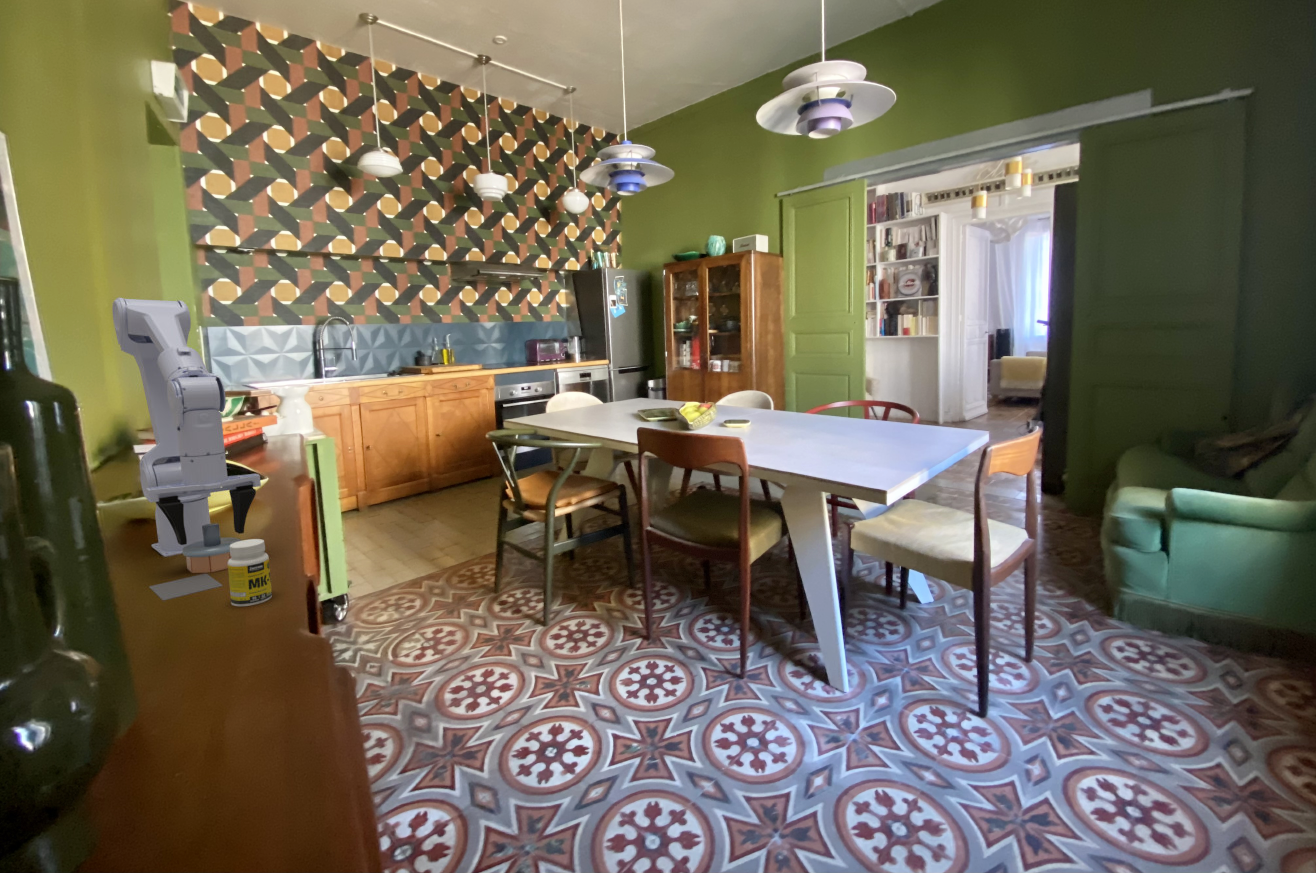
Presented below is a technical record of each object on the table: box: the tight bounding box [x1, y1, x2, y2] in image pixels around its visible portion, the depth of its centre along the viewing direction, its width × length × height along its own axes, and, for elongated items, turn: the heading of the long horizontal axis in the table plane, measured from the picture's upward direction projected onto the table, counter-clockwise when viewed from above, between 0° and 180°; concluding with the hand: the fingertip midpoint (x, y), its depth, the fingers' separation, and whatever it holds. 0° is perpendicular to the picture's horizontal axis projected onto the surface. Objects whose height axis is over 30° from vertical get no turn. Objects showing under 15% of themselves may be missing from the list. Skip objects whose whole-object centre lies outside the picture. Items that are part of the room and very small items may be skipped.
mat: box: [148, 572, 224, 602], centre depth 90 cm, size 8×7×1 cm
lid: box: [182, 522, 242, 557], centre depth 99 cm, size 8×8×4 cm
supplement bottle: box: [227, 538, 273, 607], centre depth 85 cm, size 5×5×8 cm
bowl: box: [185, 552, 232, 574], centre depth 99 cm, size 7×7×3 cm
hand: (211, 537), depth 99 cm, fingers open, 7 cm apart
